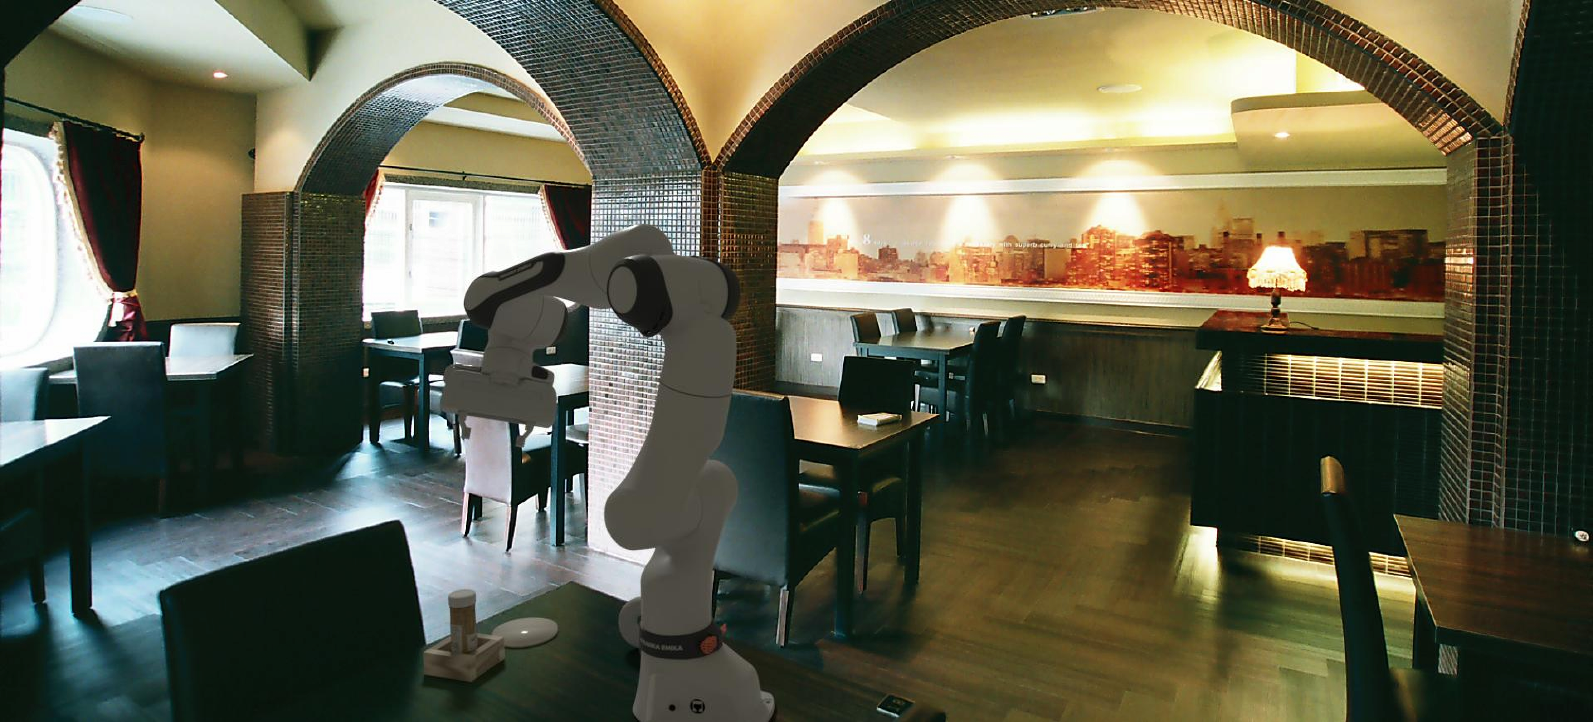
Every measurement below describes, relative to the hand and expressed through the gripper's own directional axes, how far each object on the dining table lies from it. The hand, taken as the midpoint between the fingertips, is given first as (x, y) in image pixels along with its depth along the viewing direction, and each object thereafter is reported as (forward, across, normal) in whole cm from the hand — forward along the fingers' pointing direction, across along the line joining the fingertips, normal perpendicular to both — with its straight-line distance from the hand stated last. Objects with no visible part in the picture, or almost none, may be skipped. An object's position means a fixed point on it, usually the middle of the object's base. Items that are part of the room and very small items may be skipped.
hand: (492, 442), depth 163 cm
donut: (+32, +33, +8) cm, 47 cm away
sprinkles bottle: (+37, +3, +14) cm, 40 cm away
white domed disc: (+30, +13, +22) cm, 39 cm away
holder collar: (+37, +3, +14) cm, 39 cm away
